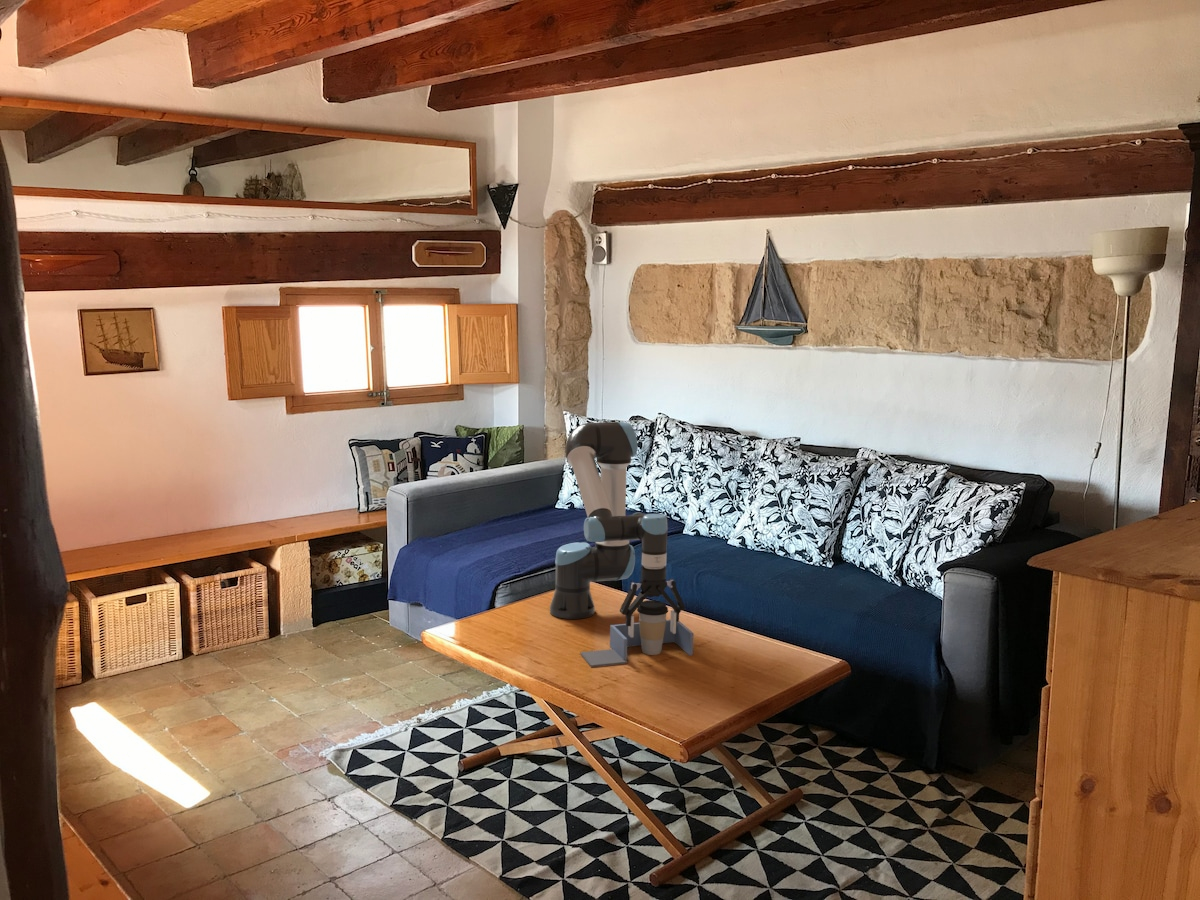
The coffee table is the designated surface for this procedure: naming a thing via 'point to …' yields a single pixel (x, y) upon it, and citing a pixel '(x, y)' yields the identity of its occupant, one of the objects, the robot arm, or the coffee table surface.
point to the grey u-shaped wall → (623, 640)
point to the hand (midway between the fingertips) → (652, 634)
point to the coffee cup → (652, 625)
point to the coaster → (602, 658)
